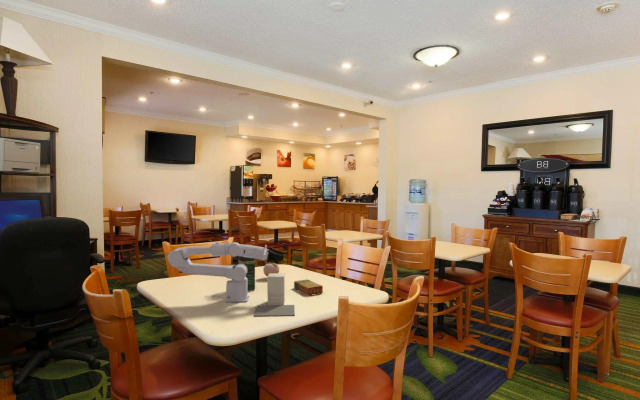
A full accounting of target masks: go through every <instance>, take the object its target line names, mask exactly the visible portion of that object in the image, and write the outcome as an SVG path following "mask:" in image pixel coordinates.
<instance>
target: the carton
mask: <svg viewBox="0 0 640 400" xmlns="http://www.w3.org/2000/svg"><path fill="white" fill-rule="evenodd" d="M293 288H294V289H295V290H297V291H298V290H299V291H298V292H300V291H301V293H302V292H303V293H302V294H304V293H305V294H304V295H306V294H307V295H306V296H308V295H309V296H313V295H312V294H316V295H320V294H319V293H322V294H323V293H324V290H323V285H322V284H319V283H316V282H314V281H312V280H310V279H301V280H294V282H293Z"/></svg>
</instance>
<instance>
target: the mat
mask: <svg viewBox="0 0 640 400" xmlns="http://www.w3.org/2000/svg"><path fill="white" fill-rule="evenodd" d="M295 310H296V309H295V304H284V305H268V304H266V305H260V304H259V305H256V308H255V311H254V314H253V317H295V315H296V313H295Z"/></svg>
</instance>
